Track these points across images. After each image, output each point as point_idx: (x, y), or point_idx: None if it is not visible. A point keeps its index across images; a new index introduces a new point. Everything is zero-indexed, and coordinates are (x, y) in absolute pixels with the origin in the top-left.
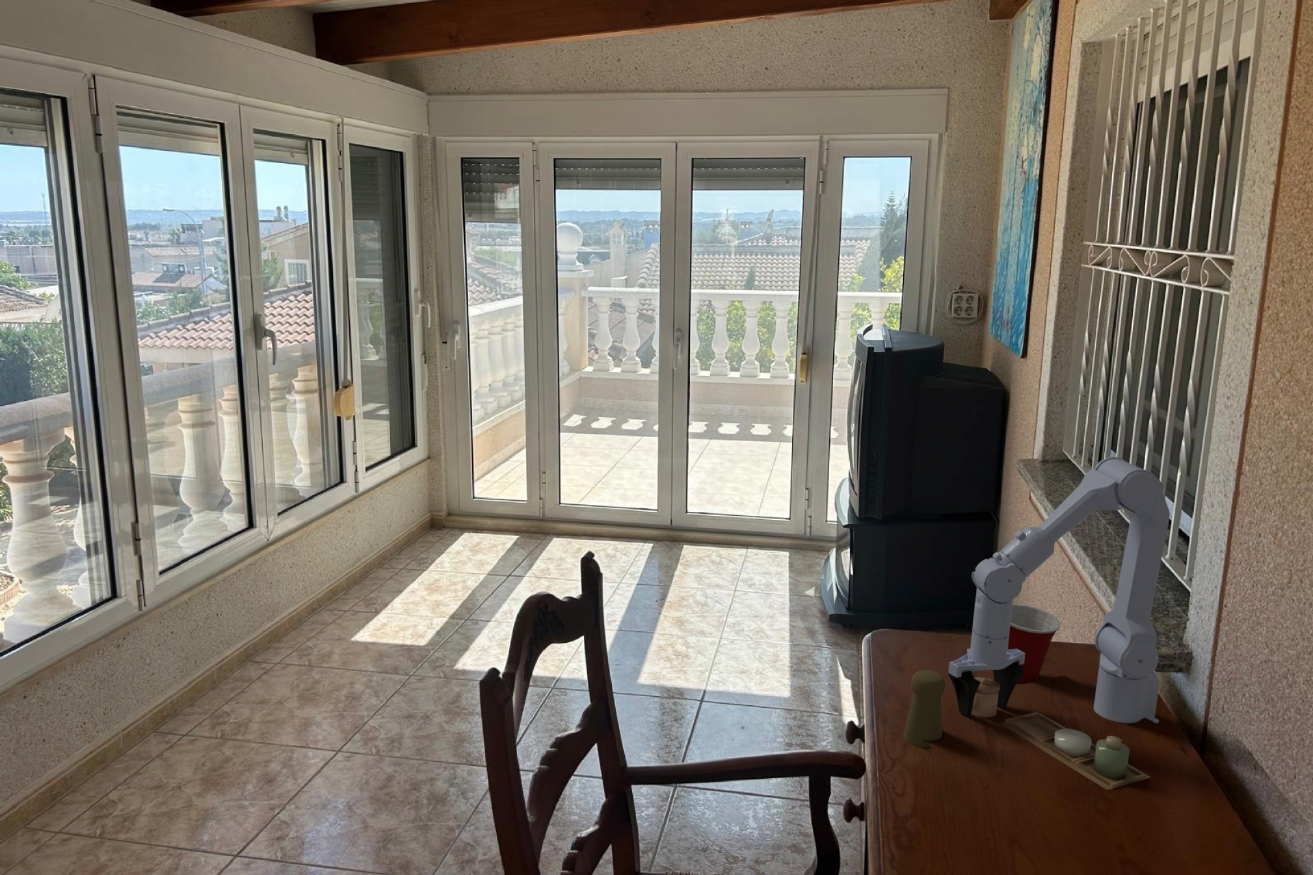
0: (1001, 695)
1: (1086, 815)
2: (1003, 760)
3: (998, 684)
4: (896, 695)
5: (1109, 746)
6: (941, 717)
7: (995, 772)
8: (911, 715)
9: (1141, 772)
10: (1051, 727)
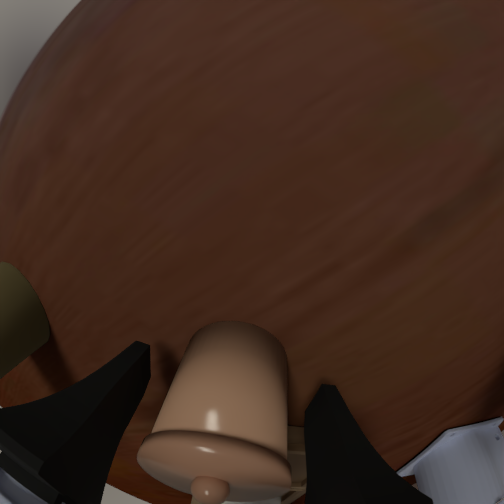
0: (314, 439)
1: (141, 485)
2: (123, 434)
3: (263, 498)
4: (93, 58)
5: None
6: (7, 372)
7: None
8: None
9: None
10: (304, 471)
